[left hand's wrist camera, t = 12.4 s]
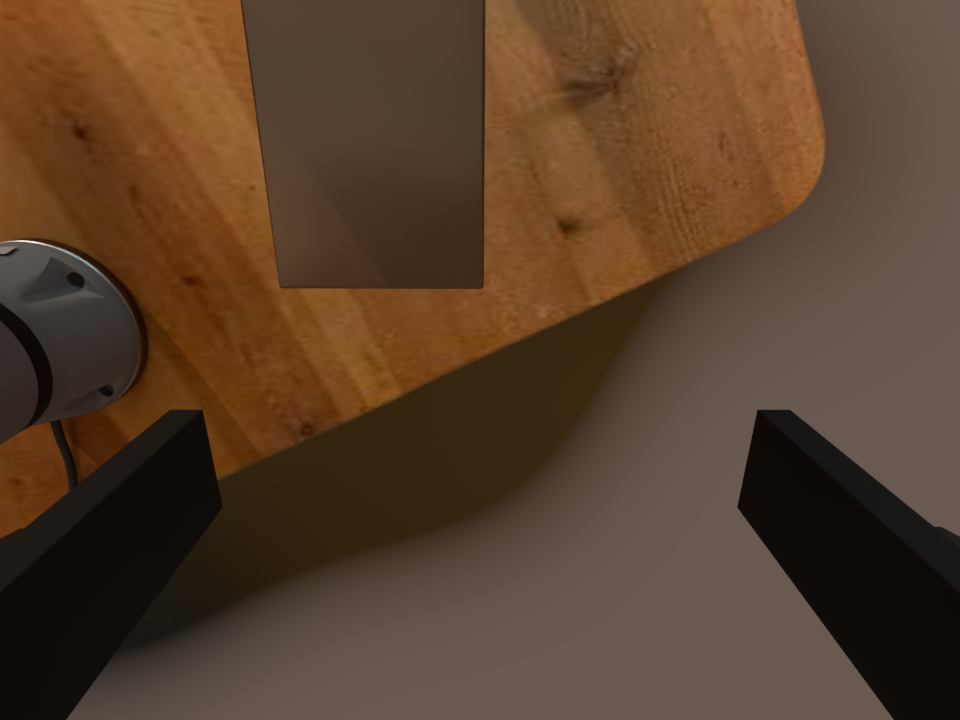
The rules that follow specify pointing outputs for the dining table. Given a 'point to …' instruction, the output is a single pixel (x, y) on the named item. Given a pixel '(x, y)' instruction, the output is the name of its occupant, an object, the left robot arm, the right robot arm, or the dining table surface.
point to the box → (372, 139)
